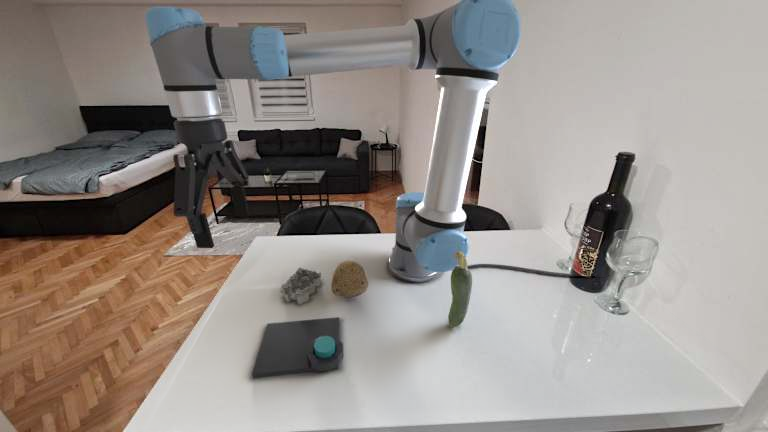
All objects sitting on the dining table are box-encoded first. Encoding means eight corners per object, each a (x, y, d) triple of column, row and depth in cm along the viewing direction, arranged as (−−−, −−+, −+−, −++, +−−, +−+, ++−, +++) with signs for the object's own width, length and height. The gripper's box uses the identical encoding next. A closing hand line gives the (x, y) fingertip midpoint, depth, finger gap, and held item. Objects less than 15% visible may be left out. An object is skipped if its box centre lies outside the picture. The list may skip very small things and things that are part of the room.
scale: (343, 320, 70) (342, 310, 69) (343, 373, 58) (342, 362, 57) (268, 327, 69) (266, 317, 67) (251, 383, 56) (248, 371, 55)
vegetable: (466, 324, 69) (477, 248, 61) (464, 338, 66) (475, 259, 57) (446, 319, 71) (454, 245, 63) (444, 332, 67) (452, 255, 59)
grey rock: (304, 306, 75) (302, 293, 73) (278, 300, 77) (276, 287, 75) (324, 281, 84) (323, 269, 83) (300, 276, 86) (299, 264, 85)
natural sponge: (375, 293, 80) (375, 260, 76) (355, 313, 73) (353, 279, 69) (348, 281, 84) (346, 250, 80) (326, 299, 77) (323, 266, 73)
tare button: (335, 341, 62) (335, 335, 61) (335, 357, 58) (334, 351, 57) (315, 343, 61) (314, 336, 60) (313, 360, 57) (313, 353, 57)
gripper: (218, 111, 63) (239, 205, 72) (113, 128, 40) (162, 264, 49) (253, 111, 62) (270, 206, 71) (167, 128, 40) (207, 265, 48)
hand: (226, 229), depth 60 cm, fingers open, 13 cm apart
